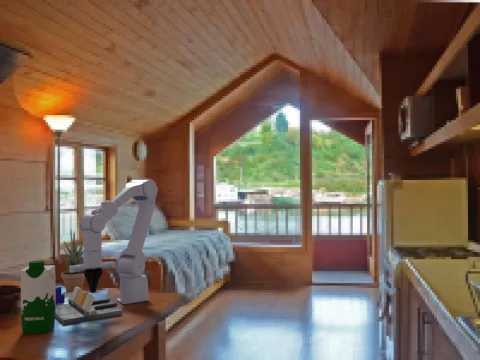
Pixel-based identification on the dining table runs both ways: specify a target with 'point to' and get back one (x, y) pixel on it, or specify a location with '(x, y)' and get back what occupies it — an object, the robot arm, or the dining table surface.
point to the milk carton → (38, 298)
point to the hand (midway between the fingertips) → (92, 292)
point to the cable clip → (59, 296)
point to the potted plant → (75, 256)
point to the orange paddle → (81, 298)
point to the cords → (103, 305)
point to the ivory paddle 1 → (75, 294)
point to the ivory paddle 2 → (88, 302)
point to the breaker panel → (83, 312)
